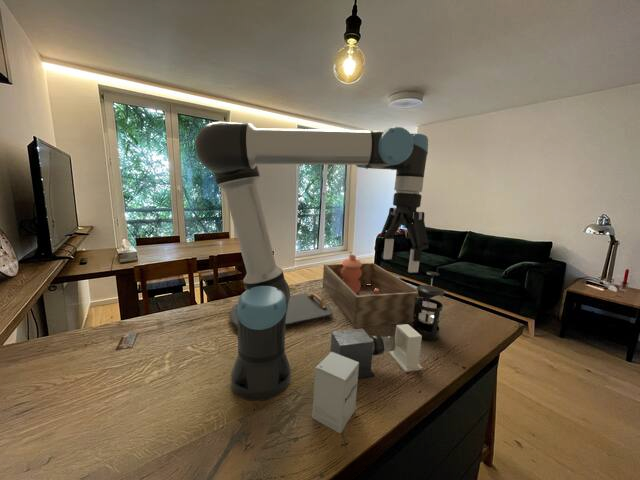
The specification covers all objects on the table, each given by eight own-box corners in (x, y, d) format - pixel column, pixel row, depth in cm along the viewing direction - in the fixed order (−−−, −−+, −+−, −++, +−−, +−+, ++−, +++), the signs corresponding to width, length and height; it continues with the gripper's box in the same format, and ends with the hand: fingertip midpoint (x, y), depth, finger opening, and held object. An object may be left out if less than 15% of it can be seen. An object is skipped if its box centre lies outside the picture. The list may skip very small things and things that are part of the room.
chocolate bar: (122, 334, 89) (122, 332, 89) (140, 332, 91) (140, 330, 91) (113, 353, 79) (113, 351, 79) (133, 350, 81) (133, 348, 81)
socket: (405, 372, 77) (409, 339, 75) (389, 353, 85) (392, 323, 83) (422, 369, 78) (426, 337, 76) (404, 351, 87) (408, 322, 85)
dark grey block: (336, 382, 71) (338, 348, 69) (326, 361, 80) (328, 330, 78) (374, 376, 74) (377, 343, 72) (361, 357, 83) (363, 326, 81)
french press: (446, 340, 94) (455, 277, 90) (423, 344, 92) (431, 278, 87) (424, 324, 105) (431, 266, 101) (403, 326, 103) (409, 267, 98)
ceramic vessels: (411, 316, 112) (416, 272, 108) (369, 325, 102) (374, 277, 99) (361, 287, 142) (364, 251, 139) (326, 292, 133) (328, 254, 129)
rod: (342, 363, 73) (343, 346, 72) (335, 352, 78) (336, 335, 77) (395, 356, 77) (397, 339, 76) (386, 346, 82) (387, 330, 81)
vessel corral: (353, 327, 100) (356, 297, 98) (322, 287, 139) (323, 264, 137) (418, 321, 107) (422, 292, 105) (371, 284, 146) (373, 263, 144)
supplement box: (341, 435, 56) (345, 381, 54) (311, 418, 60) (313, 366, 58) (356, 411, 62) (360, 361, 60) (328, 397, 66) (331, 350, 64)
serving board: (238, 342, 88) (238, 324, 87) (224, 312, 108) (224, 298, 107) (339, 319, 107) (340, 304, 106) (311, 297, 127) (312, 284, 125)
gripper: (451, 195, 67) (438, 278, 71) (395, 191, 90) (388, 254, 94) (425, 193, 65) (413, 279, 69) (375, 190, 88) (368, 254, 92)
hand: (399, 265), depth 81 cm, fingers open, 13 cm apart
